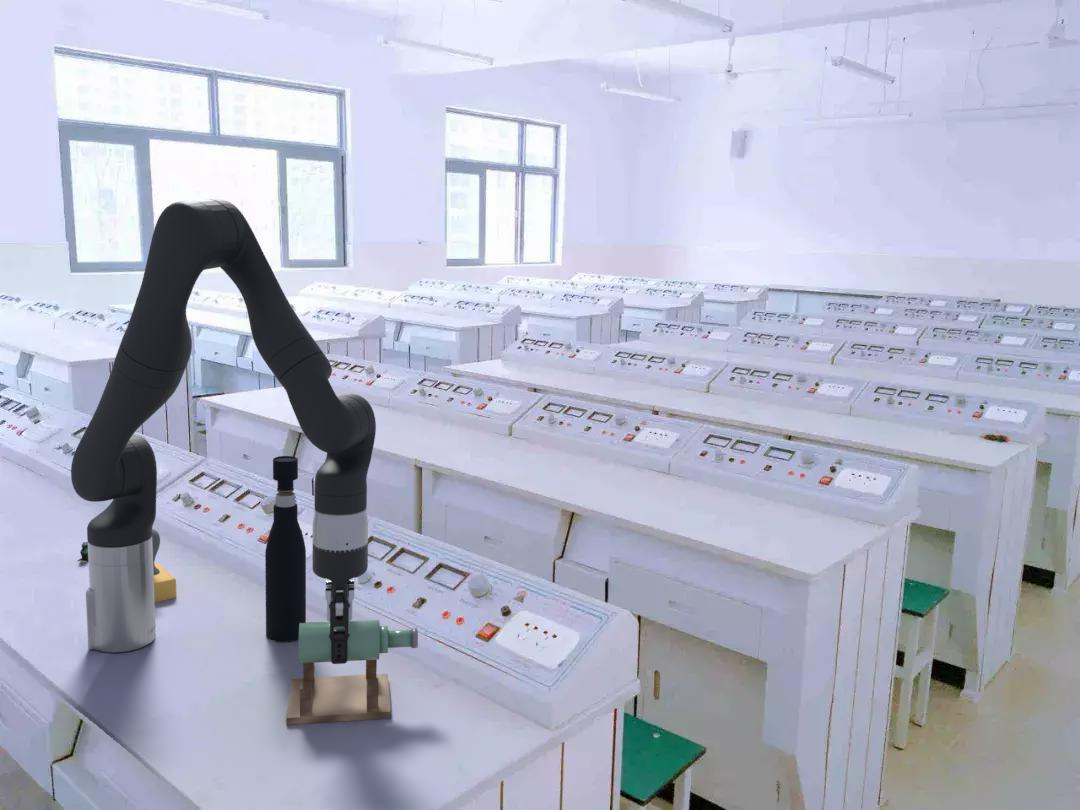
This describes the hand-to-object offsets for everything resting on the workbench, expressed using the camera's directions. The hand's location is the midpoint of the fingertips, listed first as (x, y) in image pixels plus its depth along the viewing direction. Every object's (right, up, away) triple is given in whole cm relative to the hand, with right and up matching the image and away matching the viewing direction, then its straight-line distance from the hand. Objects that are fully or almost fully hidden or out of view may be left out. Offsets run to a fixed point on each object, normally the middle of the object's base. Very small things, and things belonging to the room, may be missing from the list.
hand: (339, 652), depth 127 cm
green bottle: (+3, -1, +1) cm, 3 cm away
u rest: (0, -7, +1) cm, 8 cm away
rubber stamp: (-42, +1, +36) cm, 55 cm away
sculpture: (-61, +4, +50) cm, 78 cm away
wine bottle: (-14, -3, +22) cm, 26 cm away
